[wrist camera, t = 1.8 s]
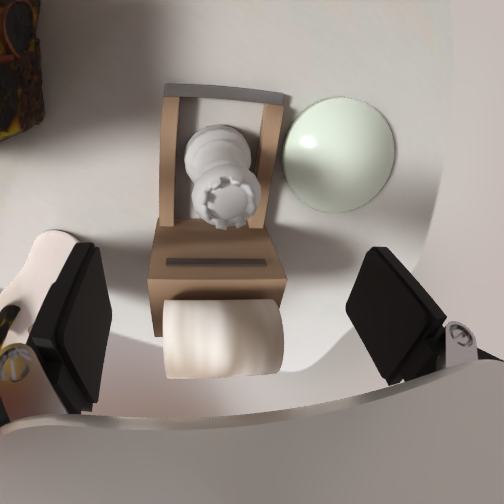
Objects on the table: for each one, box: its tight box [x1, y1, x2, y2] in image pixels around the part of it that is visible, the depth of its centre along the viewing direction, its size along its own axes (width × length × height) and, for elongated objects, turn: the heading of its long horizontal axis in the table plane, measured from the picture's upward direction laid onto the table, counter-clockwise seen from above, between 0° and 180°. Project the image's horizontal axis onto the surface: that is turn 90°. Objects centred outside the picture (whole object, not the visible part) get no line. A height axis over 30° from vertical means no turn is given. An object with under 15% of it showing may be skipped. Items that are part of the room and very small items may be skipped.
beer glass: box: [0, 230, 80, 351], centre depth 15 cm, size 7×7×15 cm
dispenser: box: [147, 84, 287, 379], centre depth 16 cm, size 15×8×11 cm, turn 172°
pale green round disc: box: [282, 97, 394, 213], centre depth 20 cm, size 9×9×1 cm
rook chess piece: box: [184, 125, 261, 230], centre depth 16 cm, size 4×4×8 cm
